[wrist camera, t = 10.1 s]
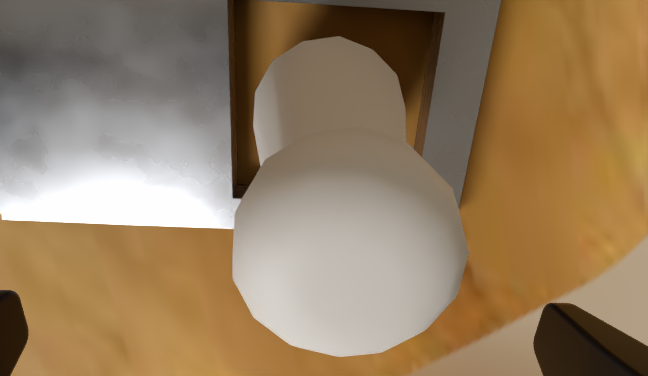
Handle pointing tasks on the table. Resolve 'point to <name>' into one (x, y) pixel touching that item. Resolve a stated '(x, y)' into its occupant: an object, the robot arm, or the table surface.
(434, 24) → the rail plate
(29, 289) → the table surface
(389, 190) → the salt shaker
